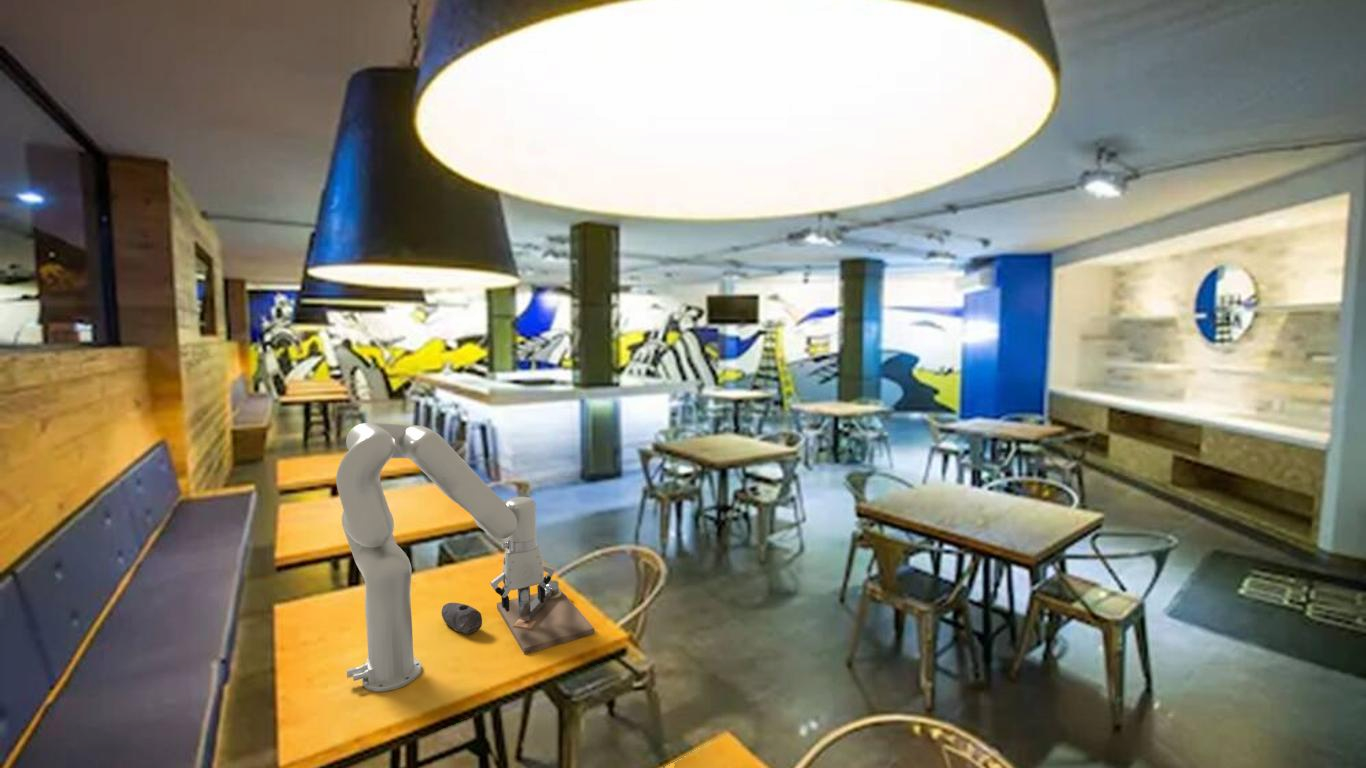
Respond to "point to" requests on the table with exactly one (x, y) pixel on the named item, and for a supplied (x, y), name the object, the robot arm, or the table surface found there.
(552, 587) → the press lever
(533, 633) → the board
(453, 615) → the perforated stone tool
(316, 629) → the table surface
